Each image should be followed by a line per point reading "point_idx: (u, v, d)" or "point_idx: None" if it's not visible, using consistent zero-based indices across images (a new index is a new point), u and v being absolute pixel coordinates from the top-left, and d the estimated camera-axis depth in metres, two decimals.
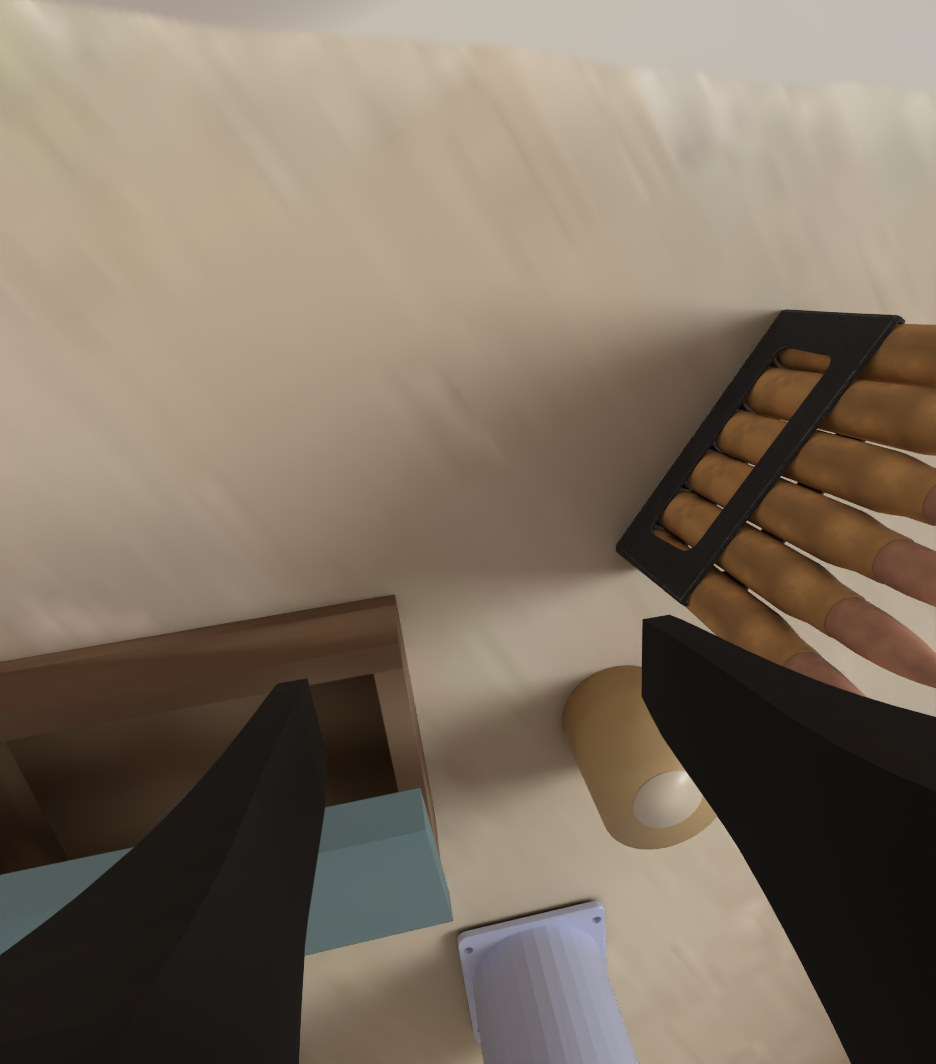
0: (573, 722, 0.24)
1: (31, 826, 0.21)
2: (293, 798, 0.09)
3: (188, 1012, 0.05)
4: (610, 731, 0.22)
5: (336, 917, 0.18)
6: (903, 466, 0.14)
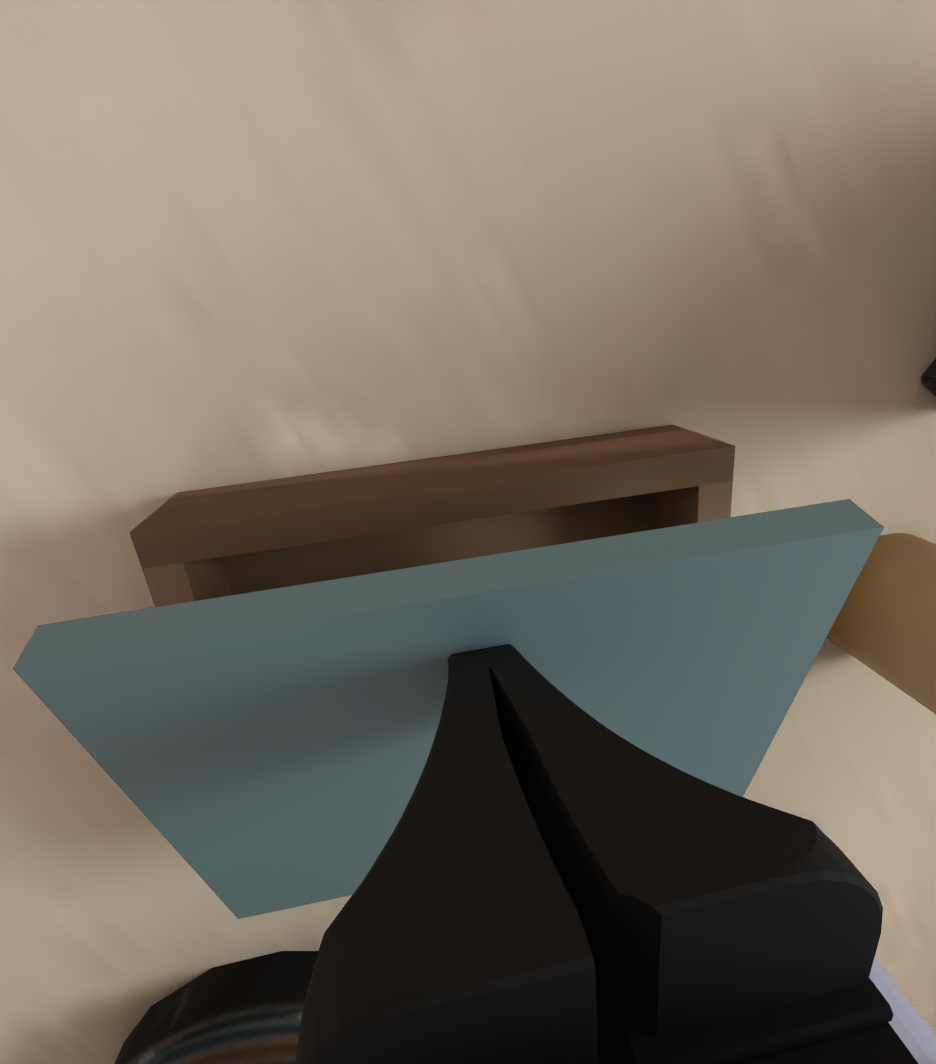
0: (850, 593, 0.21)
1: None
2: None
3: None
4: (927, 587, 0.19)
5: (657, 750, 0.15)
6: None
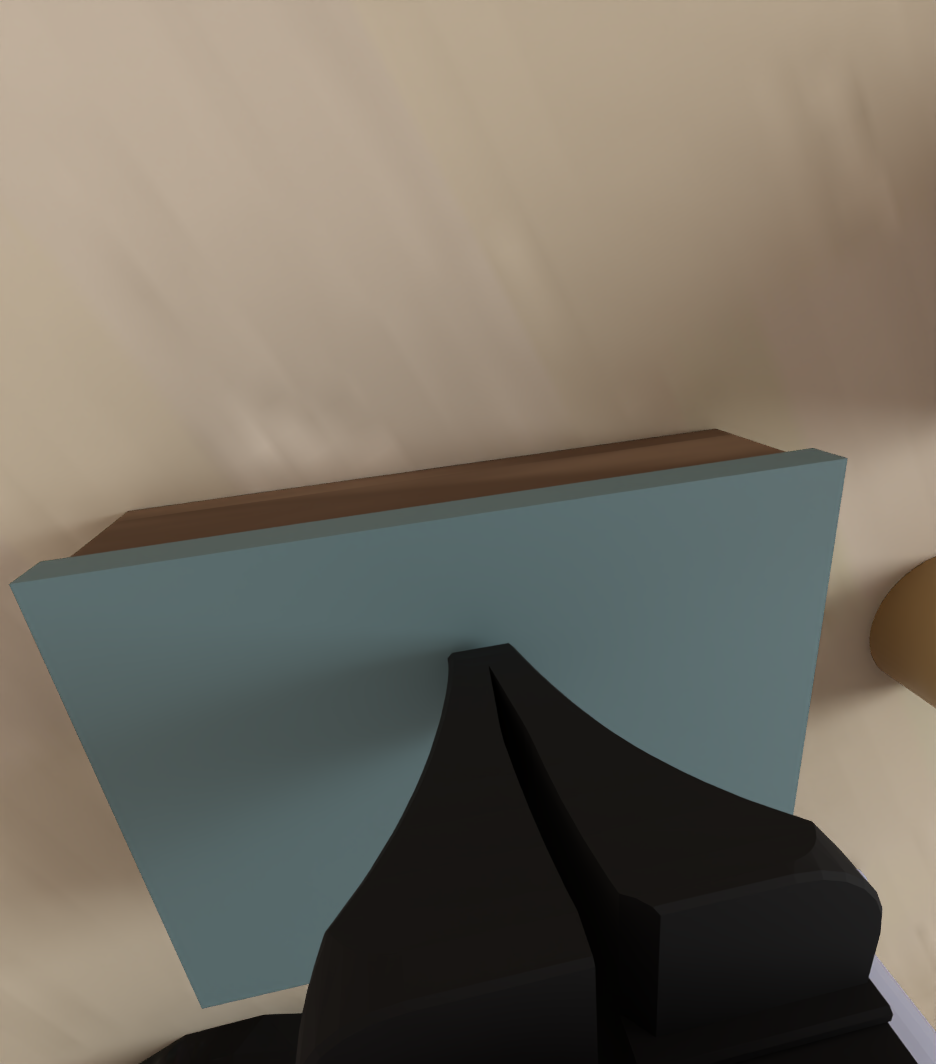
0: (910, 620, 0.18)
1: None
2: None
3: None
4: None
5: (673, 754, 0.14)
6: None
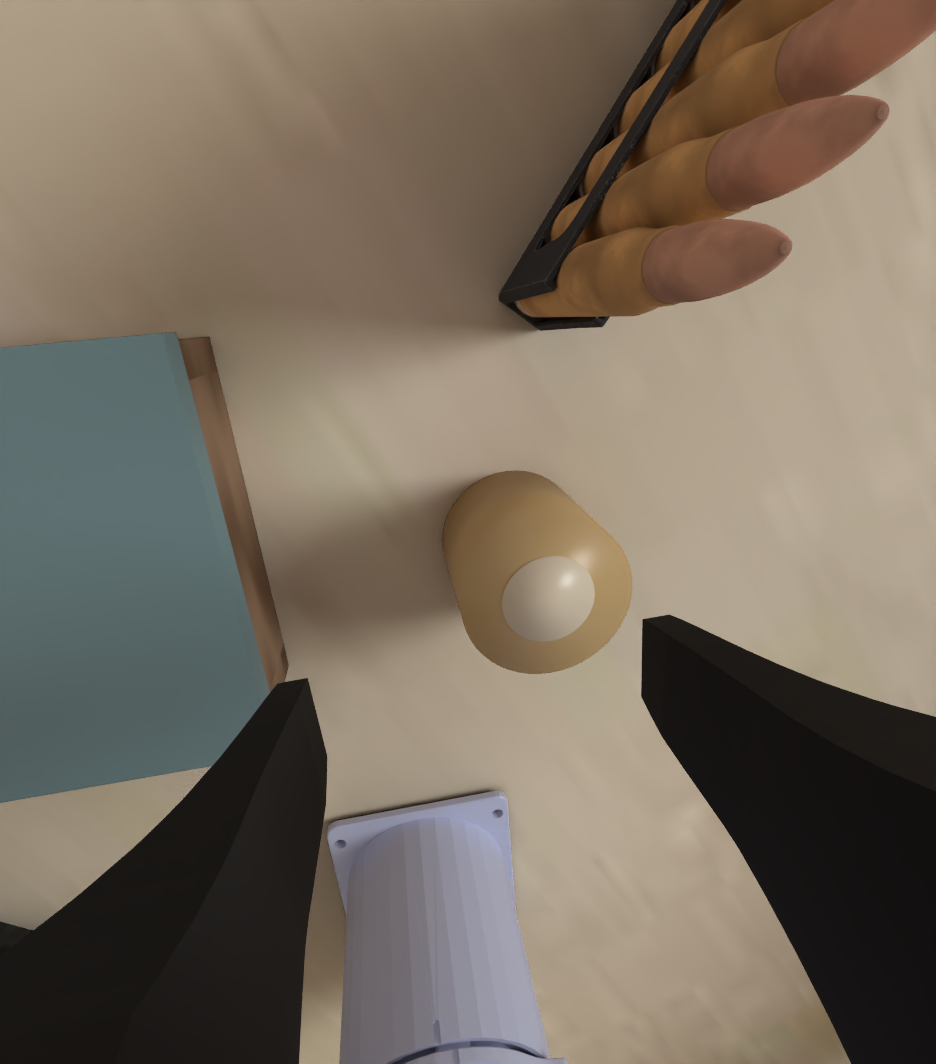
0: (449, 532, 0.19)
1: None
2: (292, 798, 0.09)
3: (188, 1012, 0.05)
4: (482, 519, 0.17)
5: (97, 624, 0.15)
6: None
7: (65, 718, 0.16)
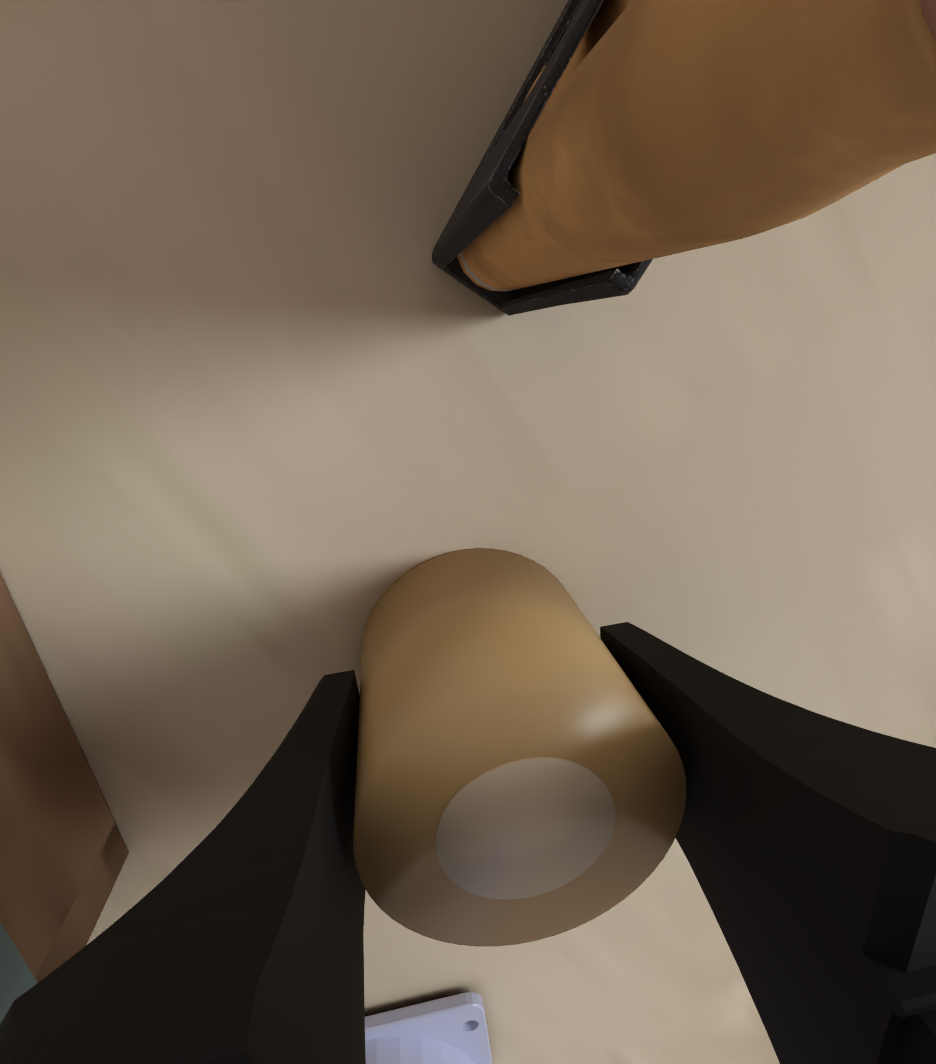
0: (364, 660, 0.11)
1: None
2: (349, 787, 0.09)
3: (292, 988, 0.05)
4: (402, 665, 0.09)
5: None
6: None
7: None
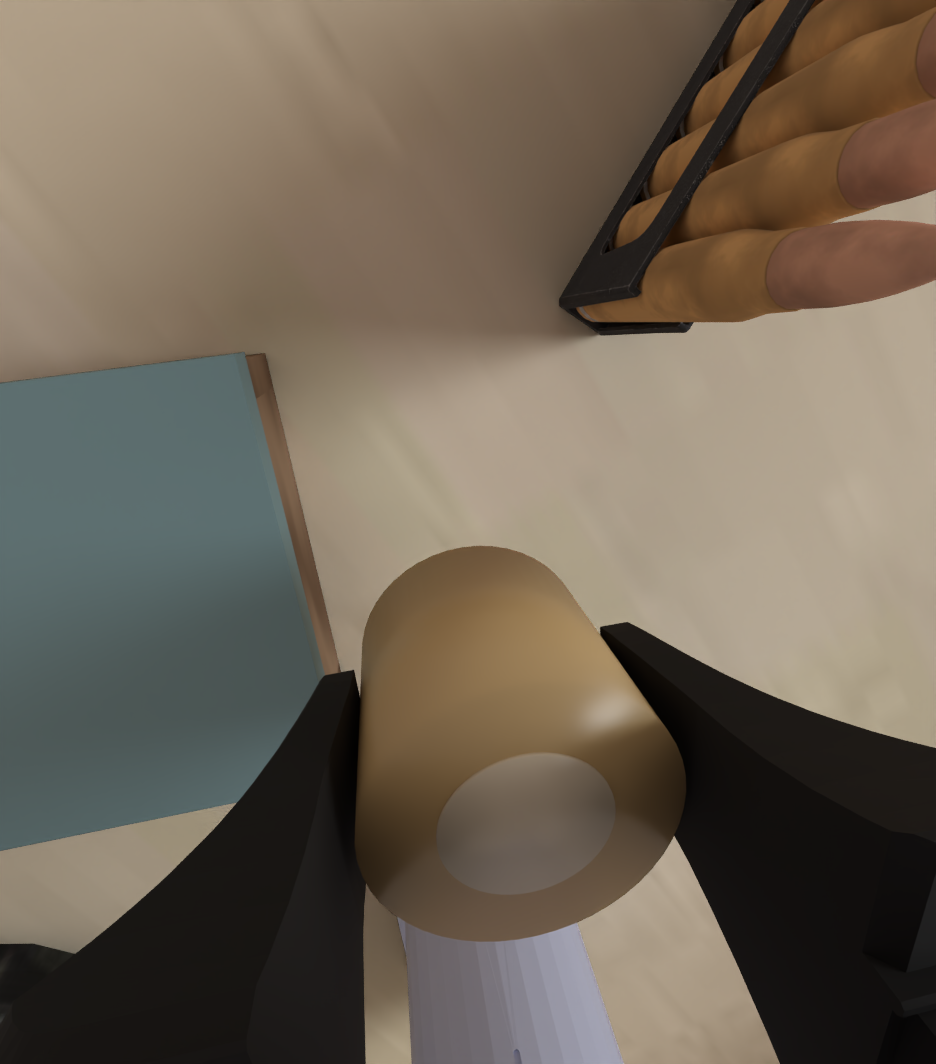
0: (364, 657, 0.12)
1: None
2: (349, 787, 0.09)
3: (292, 988, 0.05)
4: (403, 662, 0.09)
5: (166, 654, 0.15)
6: None
7: (133, 751, 0.15)
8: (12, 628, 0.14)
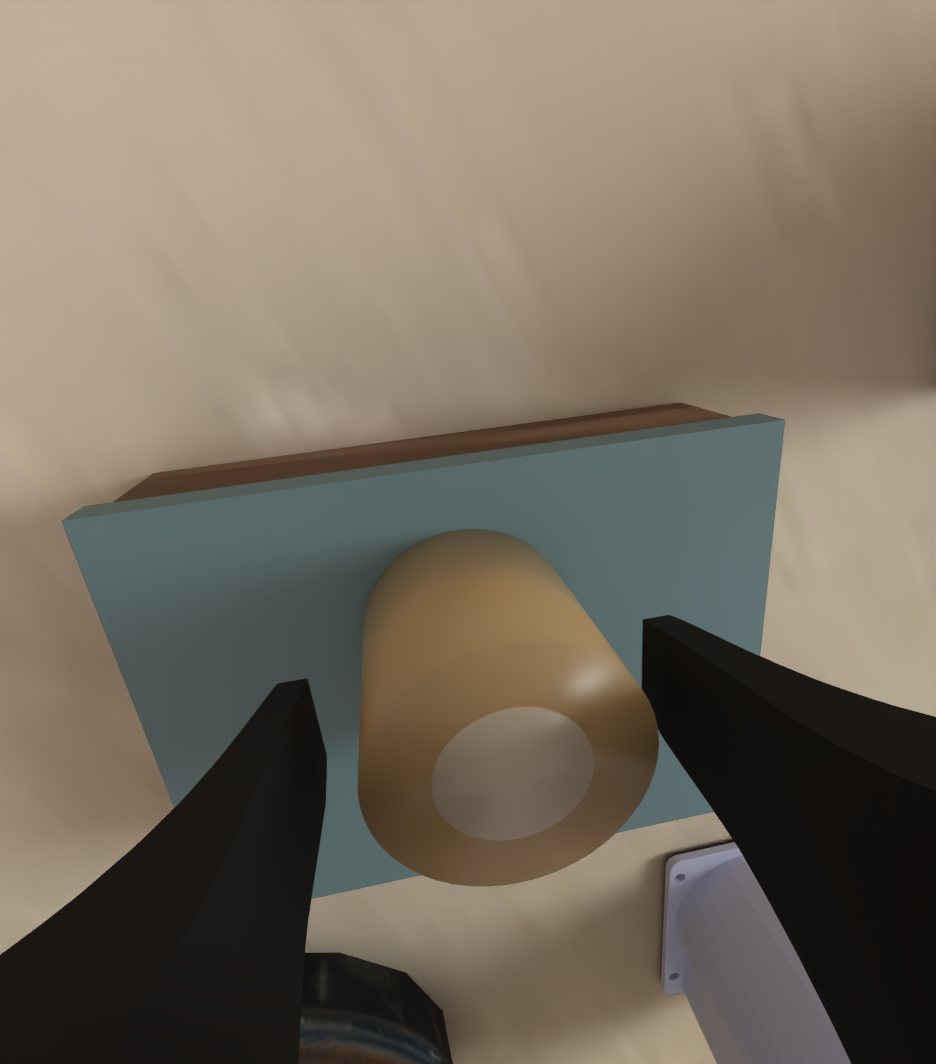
0: (365, 631, 0.12)
1: None
2: (293, 798, 0.09)
3: (189, 1012, 0.05)
4: (401, 629, 0.10)
5: None
6: None
7: None
8: None
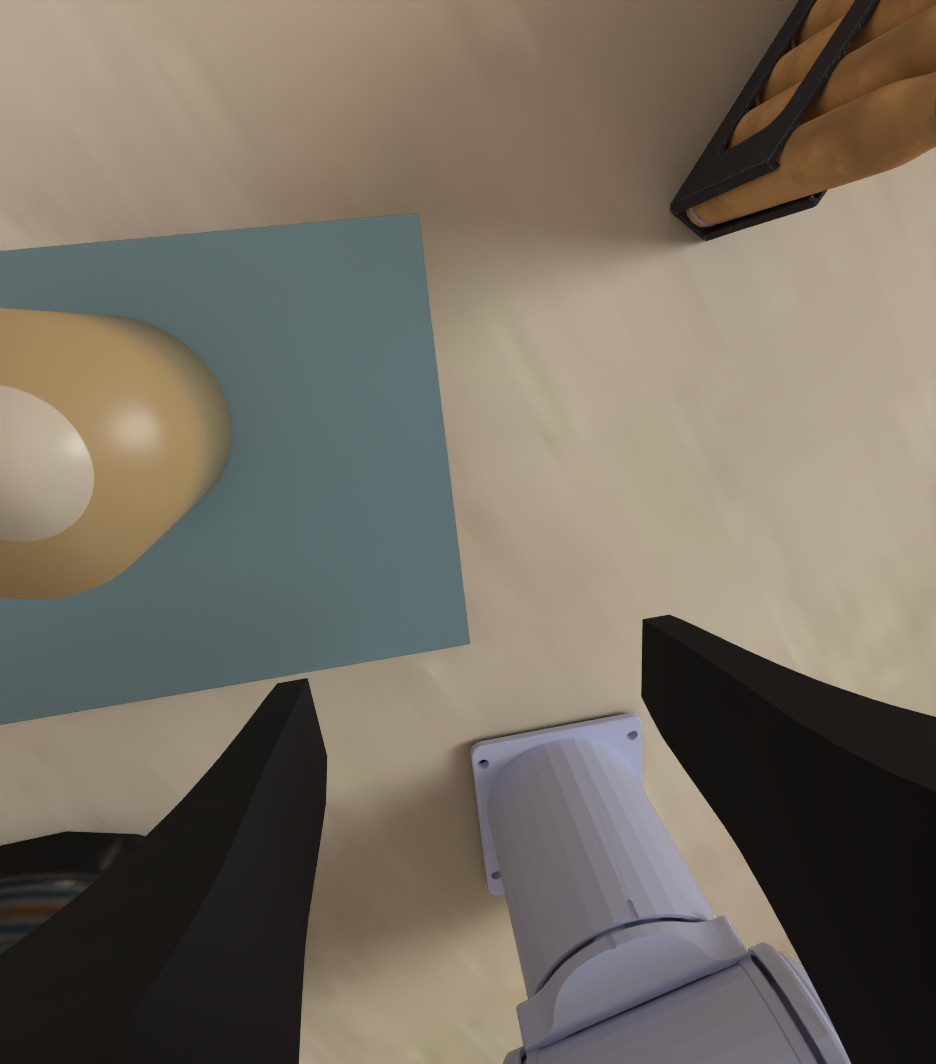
0: None
1: None
2: (292, 798, 0.09)
3: (189, 1012, 0.05)
4: None
5: (327, 505, 0.16)
6: None
7: (287, 602, 0.17)
8: None
